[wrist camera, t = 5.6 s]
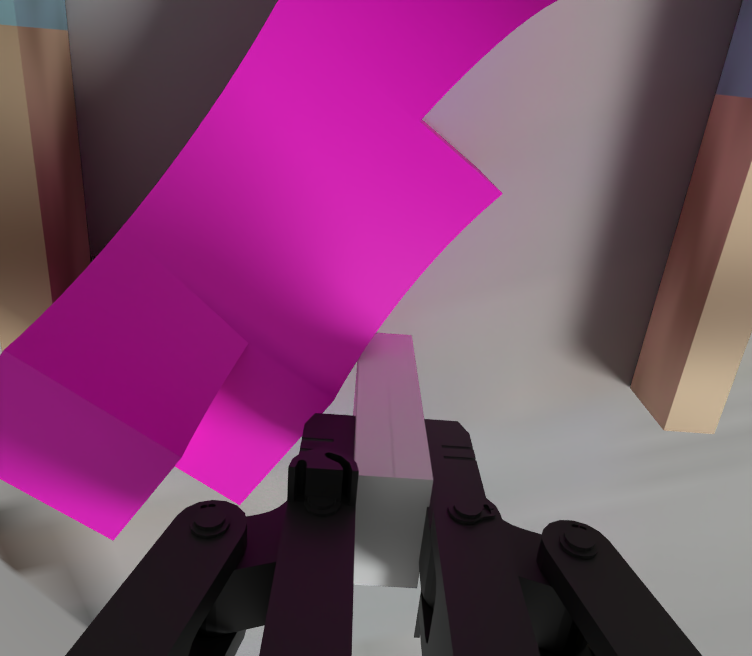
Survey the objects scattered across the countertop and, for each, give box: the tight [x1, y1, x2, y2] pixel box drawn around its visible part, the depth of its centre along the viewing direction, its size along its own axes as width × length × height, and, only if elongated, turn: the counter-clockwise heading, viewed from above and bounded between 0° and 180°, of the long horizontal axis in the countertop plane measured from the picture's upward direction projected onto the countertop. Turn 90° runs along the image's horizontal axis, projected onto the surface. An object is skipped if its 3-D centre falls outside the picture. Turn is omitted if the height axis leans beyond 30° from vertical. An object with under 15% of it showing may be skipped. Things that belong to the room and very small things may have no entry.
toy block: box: [0, 0, 557, 540], centre depth 14 cm, size 15×6×8 cm, turn 141°
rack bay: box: [0, 0, 752, 434], centre depth 15 cm, size 18×20×3 cm
